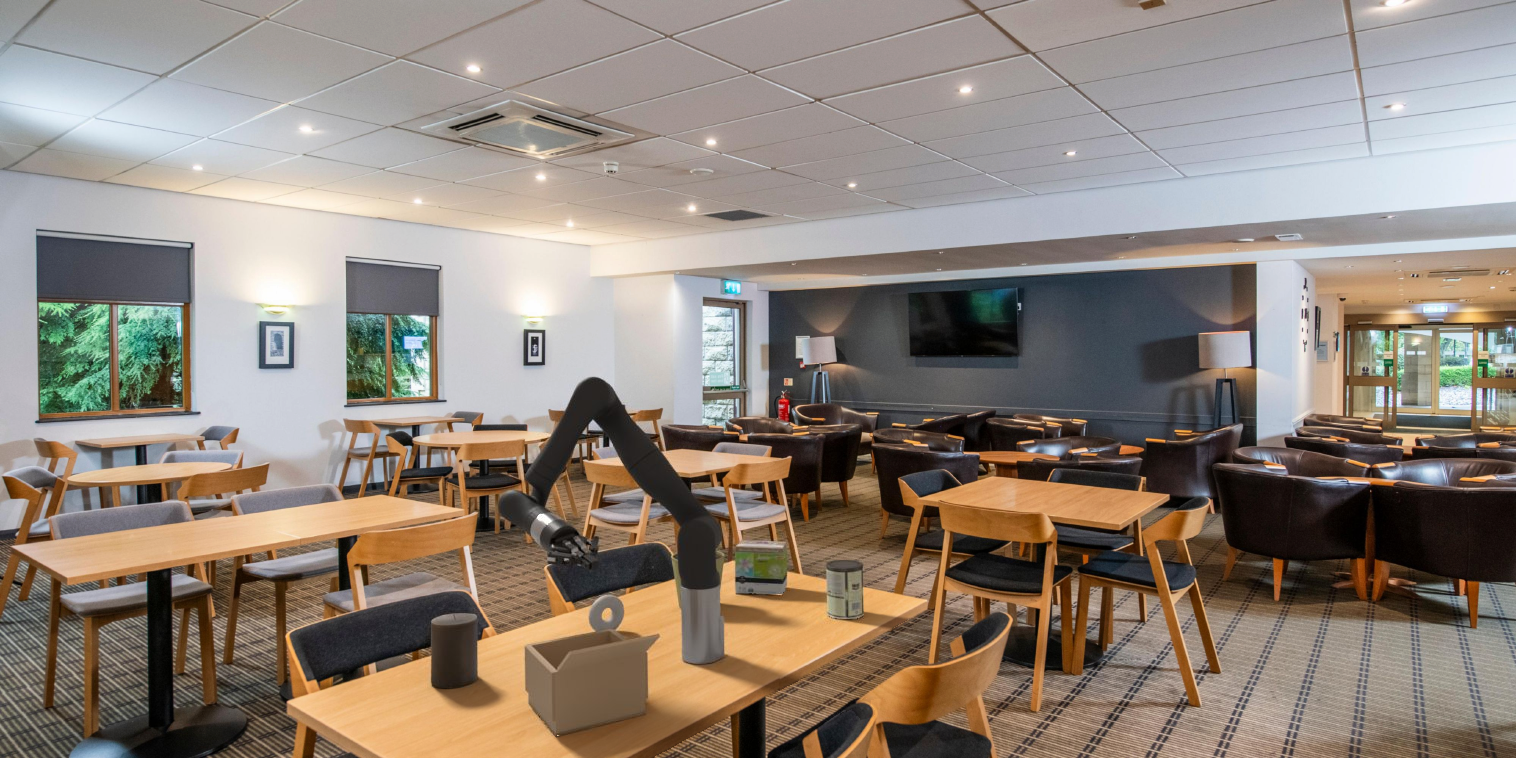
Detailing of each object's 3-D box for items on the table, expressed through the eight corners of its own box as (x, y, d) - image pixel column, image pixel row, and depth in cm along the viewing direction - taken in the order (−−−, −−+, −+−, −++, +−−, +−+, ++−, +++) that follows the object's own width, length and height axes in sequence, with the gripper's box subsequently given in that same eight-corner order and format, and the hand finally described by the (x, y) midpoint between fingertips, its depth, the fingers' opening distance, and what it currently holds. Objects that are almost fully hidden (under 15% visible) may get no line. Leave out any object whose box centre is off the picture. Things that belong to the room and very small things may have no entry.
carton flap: (659, 633, 152) (659, 636, 151) (643, 650, 158) (644, 653, 157) (569, 651, 142) (570, 654, 142) (556, 668, 149) (557, 671, 148)
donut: (592, 639, 204) (592, 599, 204) (586, 635, 207) (585, 597, 207) (627, 630, 211) (626, 592, 211) (620, 627, 213) (620, 590, 213)
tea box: (734, 594, 244) (734, 546, 244) (740, 586, 254) (740, 539, 254) (783, 596, 242) (783, 547, 242) (787, 587, 252) (787, 540, 252)
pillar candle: (450, 692, 171) (450, 621, 171) (421, 683, 176) (421, 614, 176) (487, 677, 179) (487, 610, 179) (458, 669, 184) (458, 604, 184)
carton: (613, 683, 174) (612, 628, 174) (648, 713, 159) (647, 652, 159) (524, 703, 164) (523, 644, 164) (552, 737, 148) (551, 672, 148)
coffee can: (836, 607, 229) (836, 557, 229) (870, 612, 224) (869, 561, 224) (819, 616, 221) (819, 565, 221) (853, 622, 215) (853, 569, 215)
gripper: (526, 527, 174) (566, 560, 162) (580, 511, 182) (622, 541, 170) (527, 558, 176) (567, 593, 164) (580, 540, 185) (622, 572, 172)
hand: (595, 566), depth 167 cm, fingers closed
